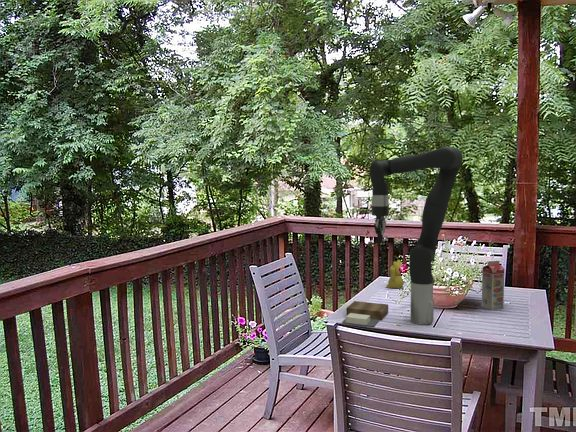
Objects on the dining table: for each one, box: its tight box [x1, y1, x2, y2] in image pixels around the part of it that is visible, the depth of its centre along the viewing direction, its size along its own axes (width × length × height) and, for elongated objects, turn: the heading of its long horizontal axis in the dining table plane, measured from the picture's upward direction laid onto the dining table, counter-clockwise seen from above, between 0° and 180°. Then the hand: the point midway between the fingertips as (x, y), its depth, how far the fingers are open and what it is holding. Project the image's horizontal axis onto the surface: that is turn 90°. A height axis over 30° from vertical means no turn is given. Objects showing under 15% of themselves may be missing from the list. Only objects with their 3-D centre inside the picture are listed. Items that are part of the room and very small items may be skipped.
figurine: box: [386, 259, 405, 289], centre depth 271 cm, size 11×9×15 cm
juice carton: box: [481, 260, 505, 311], centre depth 230 cm, size 7×7×22 cm
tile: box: [345, 313, 370, 325], centre depth 212 cm, size 9×6×2 cm, turn 64°
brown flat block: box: [345, 300, 389, 321], centre depth 223 cm, size 16×12×4 cm
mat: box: [341, 318, 380, 328], centre depth 213 cm, size 14×10×1 cm
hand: (380, 242), depth 224 cm, fingers closed
